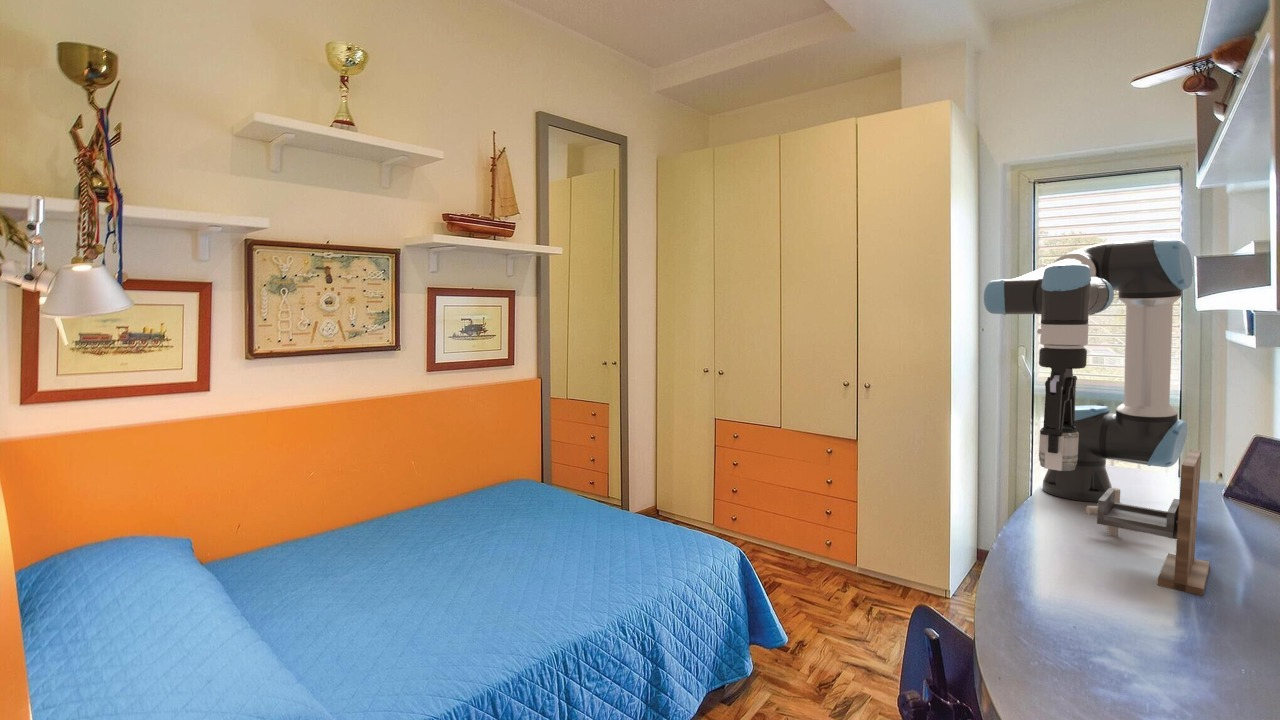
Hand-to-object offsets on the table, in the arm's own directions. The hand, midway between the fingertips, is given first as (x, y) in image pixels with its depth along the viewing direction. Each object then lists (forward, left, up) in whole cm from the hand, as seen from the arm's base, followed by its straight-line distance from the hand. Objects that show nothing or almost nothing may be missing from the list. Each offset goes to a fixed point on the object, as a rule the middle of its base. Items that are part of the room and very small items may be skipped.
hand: (1057, 465), depth 122 cm
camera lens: (0, 0, -1) cm, 1 cm away
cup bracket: (-7, +14, -18) cm, 24 cm away
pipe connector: (-24, +6, -19) cm, 31 cm away
